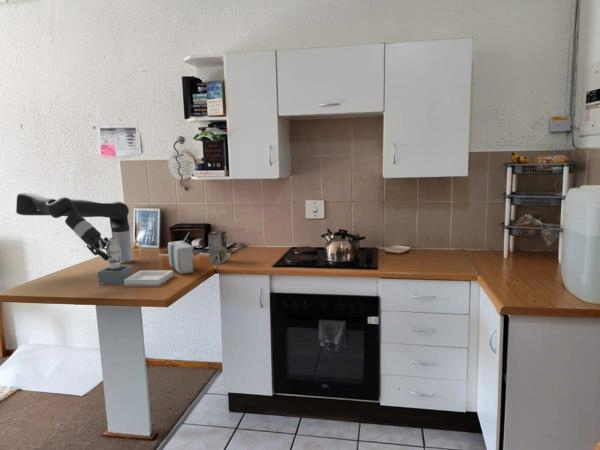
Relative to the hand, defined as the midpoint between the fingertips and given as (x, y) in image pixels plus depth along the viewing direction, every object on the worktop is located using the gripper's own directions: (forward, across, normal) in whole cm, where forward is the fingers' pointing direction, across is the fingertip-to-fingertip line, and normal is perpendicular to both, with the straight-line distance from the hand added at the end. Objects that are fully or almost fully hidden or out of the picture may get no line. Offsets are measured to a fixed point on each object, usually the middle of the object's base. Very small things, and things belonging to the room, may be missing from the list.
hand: (113, 257), depth 195 cm
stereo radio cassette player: (+24, -22, +8) cm, 34 cm away
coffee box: (+34, -39, +18) cm, 55 cm away
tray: (+20, -1, +4) cm, 20 cm away
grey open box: (+8, 0, -8) cm, 11 cm away
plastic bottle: (+8, 0, -8) cm, 12 cm away
